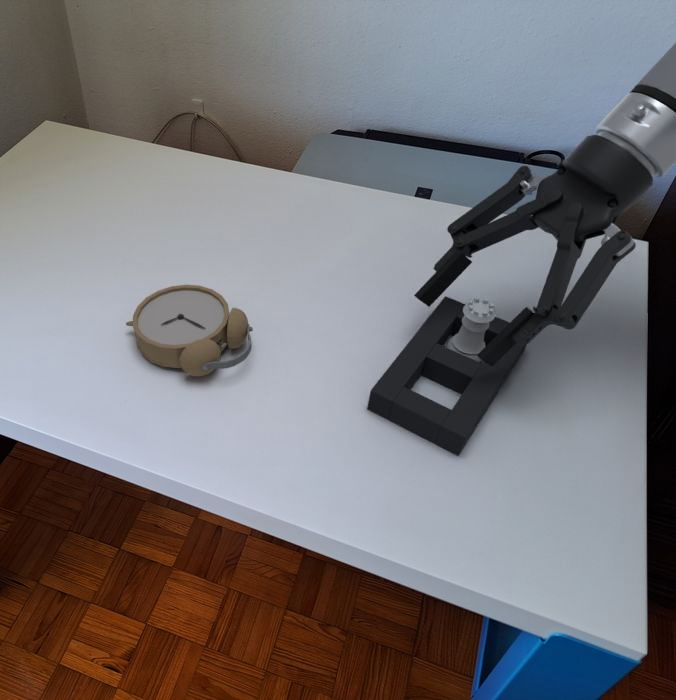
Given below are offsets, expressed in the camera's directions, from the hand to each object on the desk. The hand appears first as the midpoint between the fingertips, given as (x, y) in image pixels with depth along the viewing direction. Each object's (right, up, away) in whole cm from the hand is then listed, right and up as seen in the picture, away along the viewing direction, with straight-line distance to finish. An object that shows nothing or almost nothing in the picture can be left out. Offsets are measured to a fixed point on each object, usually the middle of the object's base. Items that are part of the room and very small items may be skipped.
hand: (451, 329), depth 72 cm
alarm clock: (-27, -1, +8) cm, 28 cm away
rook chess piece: (+3, -3, +5) cm, 7 cm away
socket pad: (+1, -5, +3) cm, 6 cm away
